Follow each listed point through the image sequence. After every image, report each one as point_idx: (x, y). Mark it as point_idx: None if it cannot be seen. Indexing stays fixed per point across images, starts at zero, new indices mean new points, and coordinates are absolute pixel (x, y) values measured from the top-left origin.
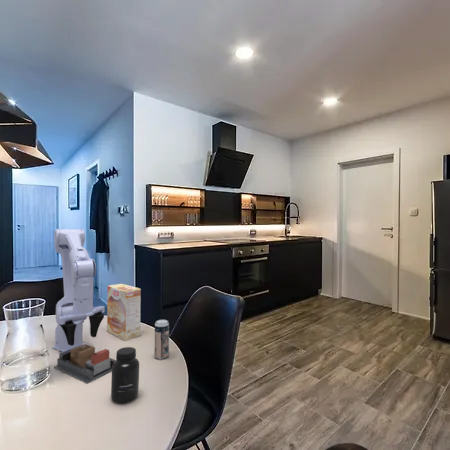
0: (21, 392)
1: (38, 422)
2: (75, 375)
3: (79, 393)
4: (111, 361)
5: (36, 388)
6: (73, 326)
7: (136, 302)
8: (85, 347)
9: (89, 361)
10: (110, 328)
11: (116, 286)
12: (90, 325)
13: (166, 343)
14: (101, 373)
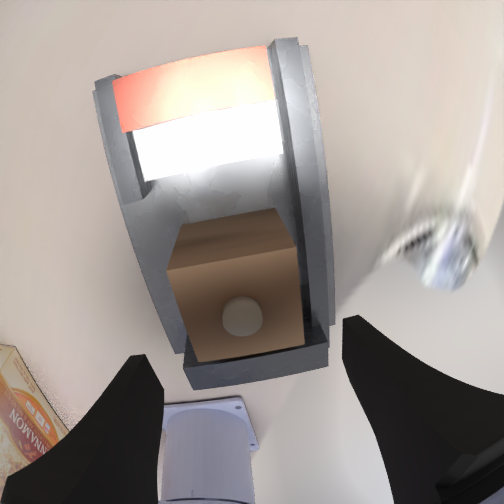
0: (472, 212)
1: (484, 4)
2: (319, 161)
3: (362, 8)
4: None
5: (444, 199)
6: (487, 426)
7: None
8: (229, 304)
9: (261, 136)
10: (59, 438)
11: None
12: (155, 467)
13: None
14: None
